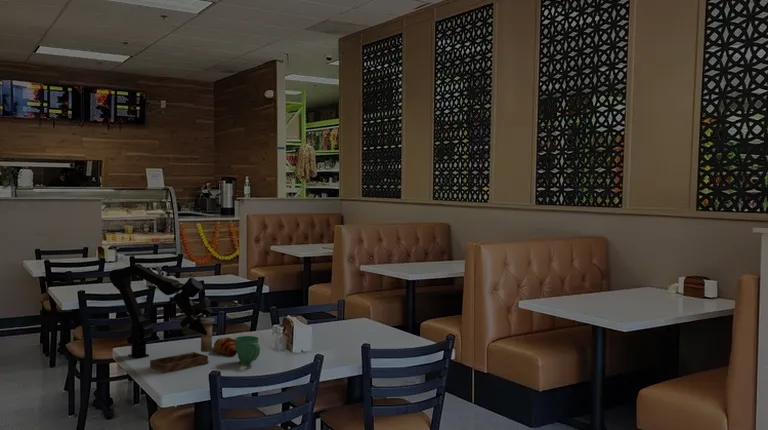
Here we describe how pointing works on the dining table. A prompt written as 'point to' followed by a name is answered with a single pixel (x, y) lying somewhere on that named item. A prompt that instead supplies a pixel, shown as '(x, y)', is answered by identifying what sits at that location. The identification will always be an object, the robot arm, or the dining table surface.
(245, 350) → the mug
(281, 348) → the dining table surface
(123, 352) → the dining table surface
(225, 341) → the croissant
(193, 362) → the tray
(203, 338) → the peg
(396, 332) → the dining table surface
